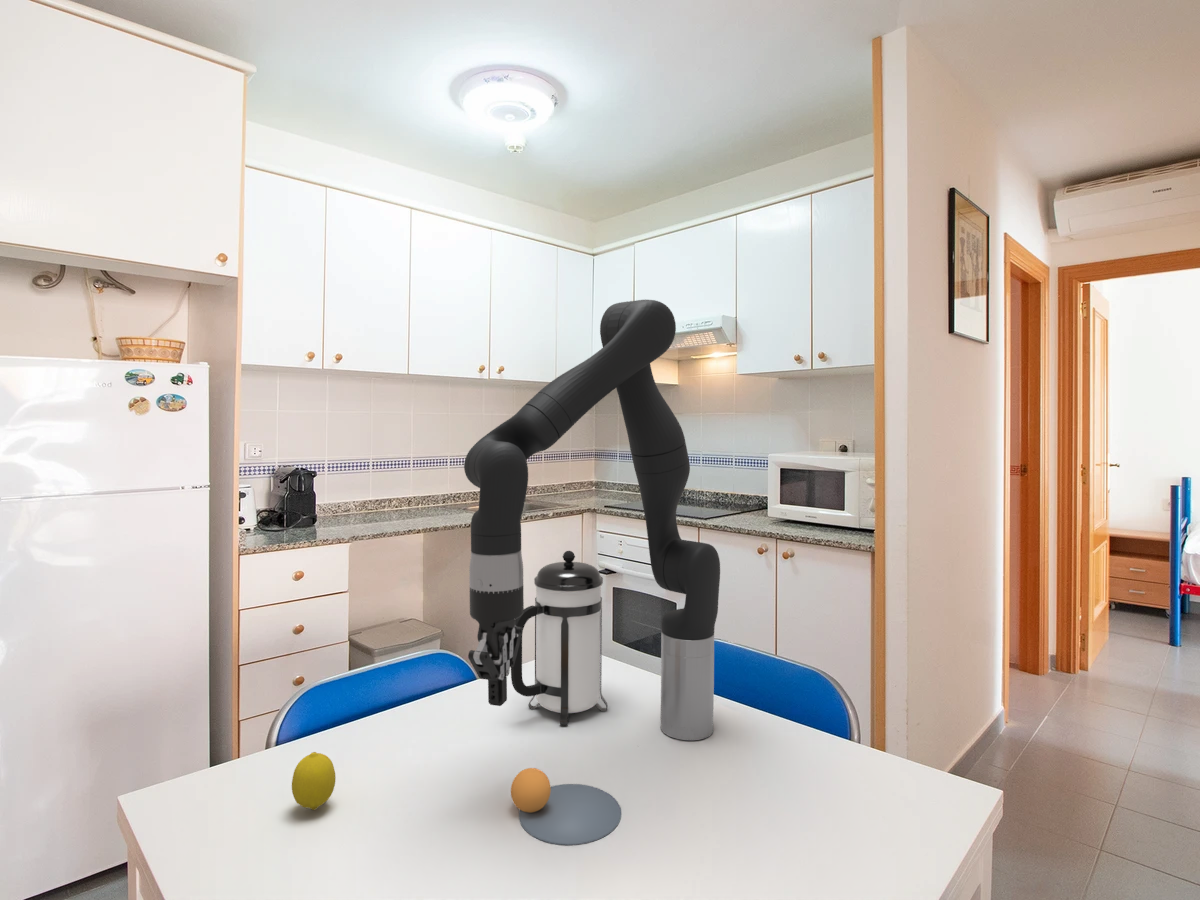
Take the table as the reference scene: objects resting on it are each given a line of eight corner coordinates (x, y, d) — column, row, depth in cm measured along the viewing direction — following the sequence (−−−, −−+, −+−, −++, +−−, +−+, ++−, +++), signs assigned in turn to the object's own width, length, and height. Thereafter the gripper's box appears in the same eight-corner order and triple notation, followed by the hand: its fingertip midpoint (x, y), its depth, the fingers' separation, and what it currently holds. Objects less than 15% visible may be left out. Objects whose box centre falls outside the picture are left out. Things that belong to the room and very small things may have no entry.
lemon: (319, 823, 88) (319, 764, 87) (283, 818, 89) (282, 760, 89) (343, 800, 93) (343, 745, 93) (308, 796, 94) (308, 741, 94)
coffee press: (533, 690, 132) (533, 542, 131) (612, 695, 130) (613, 545, 129) (509, 729, 115) (509, 559, 114) (600, 736, 113) (601, 562, 112)
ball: (548, 756, 93) (564, 794, 92) (521, 764, 95) (536, 801, 94) (524, 777, 88) (541, 817, 87) (496, 785, 91) (512, 824, 90)
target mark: (542, 778, 99) (542, 777, 99) (632, 794, 95) (632, 793, 95) (501, 833, 86) (501, 831, 86) (604, 854, 82) (604, 852, 82)
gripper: (499, 596, 85) (501, 727, 86) (539, 573, 98) (540, 688, 99) (448, 592, 88) (450, 720, 88) (493, 570, 100) (494, 682, 101)
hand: (497, 703), depth 94 cm, fingers closed
